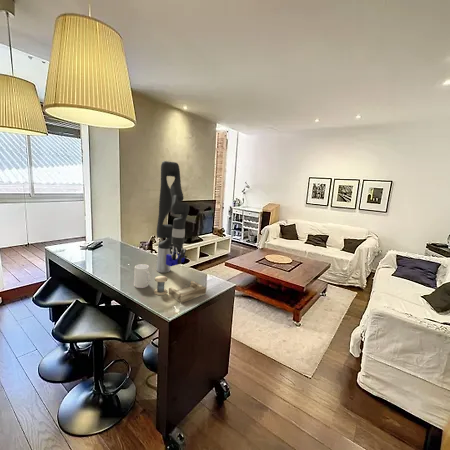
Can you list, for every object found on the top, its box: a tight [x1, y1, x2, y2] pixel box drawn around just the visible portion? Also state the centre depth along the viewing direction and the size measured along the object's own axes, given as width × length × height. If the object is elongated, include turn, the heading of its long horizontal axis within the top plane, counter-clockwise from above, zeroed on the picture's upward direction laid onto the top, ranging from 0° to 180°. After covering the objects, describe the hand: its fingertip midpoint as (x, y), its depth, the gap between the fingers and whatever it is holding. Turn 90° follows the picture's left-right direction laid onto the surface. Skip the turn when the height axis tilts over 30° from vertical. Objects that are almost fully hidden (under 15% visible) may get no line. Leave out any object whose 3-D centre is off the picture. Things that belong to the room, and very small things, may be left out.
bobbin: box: [153, 275, 168, 296], centre depth 144 cm, size 7×7×9 cm
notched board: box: [168, 280, 207, 304], centre depth 146 cm, size 12×18×4 cm, turn 137°
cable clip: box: [166, 254, 186, 267], centre depth 152 cm, size 12×4×6 cm, turn 141°
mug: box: [133, 263, 151, 289], centre depth 150 cm, size 12×8×12 cm
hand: (176, 262), depth 153 cm, fingers closed on cable clip, 4 cm apart
